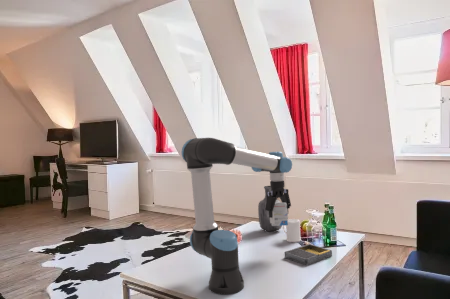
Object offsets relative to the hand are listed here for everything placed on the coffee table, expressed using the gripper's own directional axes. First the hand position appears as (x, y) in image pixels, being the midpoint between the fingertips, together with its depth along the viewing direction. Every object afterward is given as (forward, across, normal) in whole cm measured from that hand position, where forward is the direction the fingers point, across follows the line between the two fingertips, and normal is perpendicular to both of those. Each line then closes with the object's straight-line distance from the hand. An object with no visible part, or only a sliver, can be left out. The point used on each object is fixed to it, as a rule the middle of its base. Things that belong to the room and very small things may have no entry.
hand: (279, 221), depth 186 cm
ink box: (+2, 0, 0) cm, 2 cm away
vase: (+17, +25, +36) cm, 47 cm away
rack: (+17, +6, -14) cm, 23 cm away
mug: (+17, +21, +13) cm, 30 cm away
